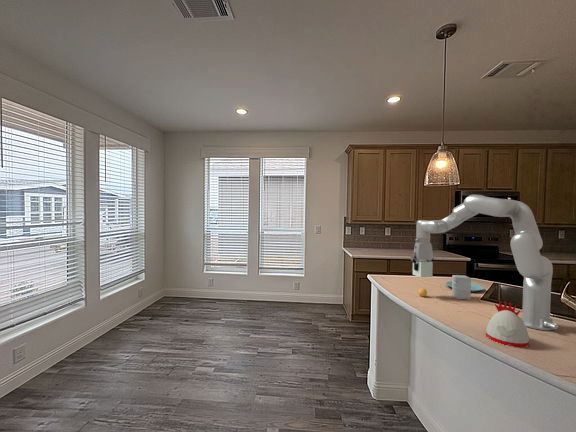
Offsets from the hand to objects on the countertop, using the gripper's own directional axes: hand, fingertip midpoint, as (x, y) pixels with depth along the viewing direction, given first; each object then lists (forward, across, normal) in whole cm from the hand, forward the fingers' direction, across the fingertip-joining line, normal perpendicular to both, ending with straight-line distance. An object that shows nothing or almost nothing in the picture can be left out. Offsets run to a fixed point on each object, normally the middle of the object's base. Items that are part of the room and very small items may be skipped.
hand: (422, 269), depth 175 cm
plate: (+16, +40, +11) cm, 45 cm away
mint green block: (+3, 0, 0) cm, 3 cm away
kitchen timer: (+16, -5, -59) cm, 61 cm away
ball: (+13, 0, 0) cm, 13 cm away
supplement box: (+16, +22, -6) cm, 28 cm away
